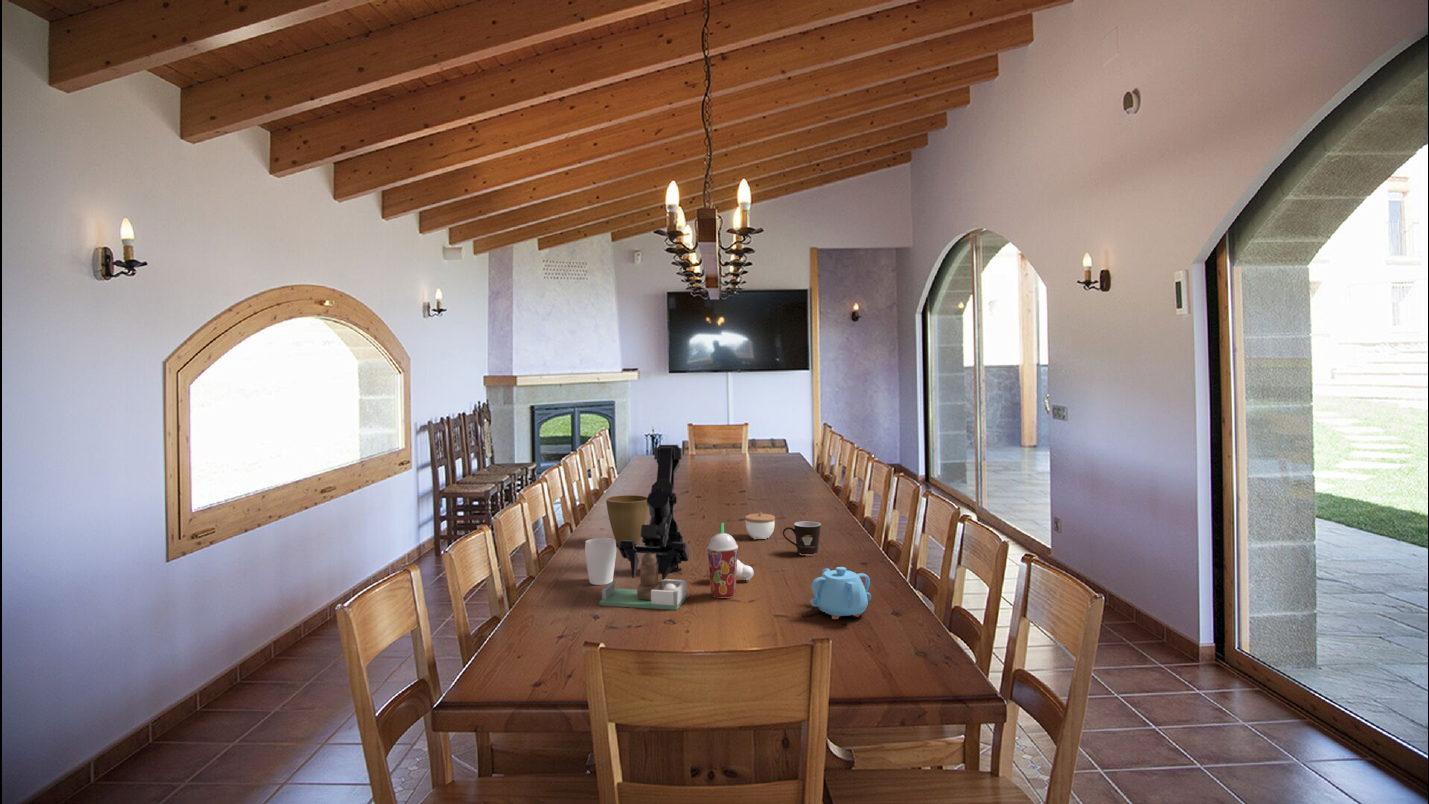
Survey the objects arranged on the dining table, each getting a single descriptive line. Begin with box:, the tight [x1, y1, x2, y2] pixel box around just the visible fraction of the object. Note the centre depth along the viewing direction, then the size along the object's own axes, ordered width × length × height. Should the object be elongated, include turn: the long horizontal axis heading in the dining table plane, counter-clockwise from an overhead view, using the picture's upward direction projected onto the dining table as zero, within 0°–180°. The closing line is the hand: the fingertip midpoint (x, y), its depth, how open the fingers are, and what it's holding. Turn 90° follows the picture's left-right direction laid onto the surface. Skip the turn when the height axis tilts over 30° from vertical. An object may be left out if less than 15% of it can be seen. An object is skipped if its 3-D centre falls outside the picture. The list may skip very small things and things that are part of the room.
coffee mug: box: [782, 520, 822, 554], centre depth 263 cm, size 12×9×10 cm
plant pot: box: [605, 494, 649, 546], centre depth 279 cm, size 15×15×16 cm
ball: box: [663, 583, 677, 591], centre depth 213 cm, size 4×4×4 cm
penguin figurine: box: [736, 558, 754, 581], centre depth 232 cm, size 6×8×12 cm
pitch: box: [599, 578, 689, 611], centre depth 214 cm, size 21×12×4 cm, turn 78°
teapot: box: [809, 566, 872, 617], centre depth 203 cm, size 20×17×12 cm
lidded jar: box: [744, 511, 776, 540], centre depth 286 cm, size 11×11×9 cm
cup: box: [584, 537, 617, 586], centre depth 232 cm, size 9×9×12 cm
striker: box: [636, 553, 662, 600], centre depth 214 cm, size 5×6×12 cm
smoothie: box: [707, 522, 739, 598], centre depth 218 cm, size 8×8×20 cm
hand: (647, 578), depth 212 cm, fingers open, 8 cm apart
